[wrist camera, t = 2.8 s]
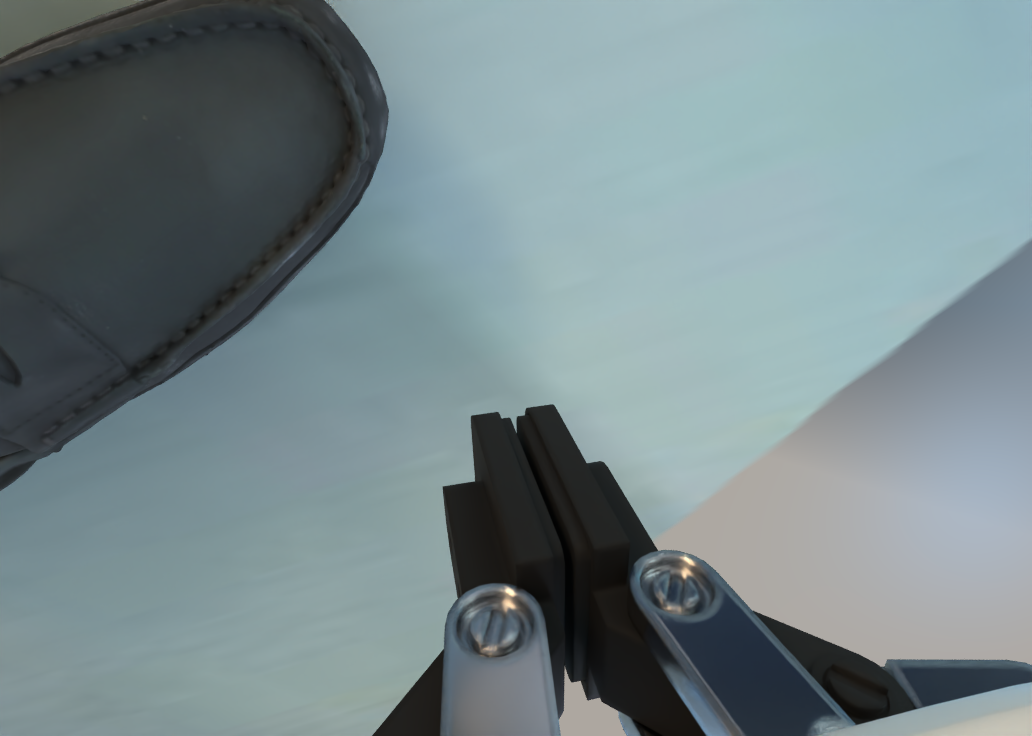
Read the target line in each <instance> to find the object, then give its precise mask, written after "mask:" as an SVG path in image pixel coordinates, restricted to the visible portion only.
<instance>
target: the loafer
mask: <svg viewBox="0 0 1032 736" xmlns="http://www.w3.org/2000/svg"><path fill="white" fill-rule="evenodd" d="M388 112H389V109H388V106H387V102H386V96H385V93H384V90H383V87H382V85H381V82H380V79H379V76H378V74H377V71H376V69H375V67H374V66H373V64H372V62H371V60H370V58H369V57H368V55H367V53H366V52H365V50H364V49H363V47H362V46H361V44H360V43H359V42H358V40H357V39H356V38H355V36H354V35H353V34H352V32H351V31H350V30H349V28H348V27H347V26H346V24H345V23H344V22H343V21H342V20H341V18H340V17H339V16H338V15H337V14H336V12H335V11H334V10H333V9H332V7H331V6H330V5H328V4H327V3H326V2H325V1H324V0H144V1H141V2H139V3H136V4H133V5H130V6H127V7H124V8H121V9H117V10H115V11H112V12H109V13H106V14H102V15H99V16H97V17H94V18H92V19H89V20H86V21H84V22H81V23H79V24H76V25H74V26H71V27H68V28H66V29H63V30H60V31H58V32H55V33H52V34H50V35H48V36H45V37H43V38H41V39H39V40H37V41H35V42H32V43H28V44H26V45H24V46H23V47H21V48H19V49H17V50H16V51H14V52H12V53H10V54H8V55H6V56H4V57H2V58H1V59H0V491H1V490H2V489H4V488H5V487H7V486H8V485H10V484H11V483H13V482H14V481H15V480H16V479H18V478H19V477H20V476H21V475H23V474H24V473H25V472H26V471H27V470H28V469H29V468H30V467H31V466H32V465H33V464H34V463H35V461H36V460H38V459H41V458H44V457H46V456H48V455H50V454H51V453H53V452H59V451H60V450H61V449H62V447H63V445H65V444H66V443H68V442H69V441H71V440H72V439H74V438H75V437H77V436H78V435H80V434H81V433H83V432H84V431H86V430H88V429H89V428H91V427H92V426H93V425H95V424H96V423H97V422H99V421H100V420H101V419H103V418H104V417H106V416H108V415H109V414H111V413H112V412H114V411H115V410H117V409H118V408H120V407H121V406H122V405H124V404H125V403H126V402H128V401H129V400H132V399H134V398H136V397H138V396H140V395H141V394H143V393H145V392H147V391H149V390H151V389H153V388H154V387H156V386H158V385H160V384H162V383H164V382H165V381H167V380H169V379H170V378H172V377H174V376H175V375H177V374H178V373H180V372H181V371H183V370H184V369H186V368H187V367H189V366H190V365H192V364H193V363H194V362H196V361H197V360H199V359H200V358H202V357H203V356H205V355H208V354H209V352H211V351H212V350H214V349H215V348H216V347H218V346H219V345H221V344H223V343H224V342H225V341H227V340H228V339H229V338H231V337H232V336H233V335H235V334H236V333H237V332H238V331H240V330H241V329H242V328H243V327H245V326H246V325H247V324H248V323H249V322H251V321H252V320H253V319H254V318H255V317H256V316H257V315H258V314H259V313H260V312H261V311H262V310H263V309H264V308H265V307H266V306H267V305H268V304H269V303H270V302H271V301H272V300H273V299H274V298H275V297H276V296H277V295H278V294H279V293H280V292H281V291H282V290H283V289H284V288H285V287H286V286H287V285H288V284H289V283H290V282H291V281H292V280H293V279H294V278H295V276H296V275H297V274H298V273H299V272H300V271H301V270H302V269H303V268H304V267H305V266H306V265H307V264H308V263H309V262H310V261H311V260H312V258H313V257H314V256H315V255H316V254H317V253H318V252H319V251H320V250H321V249H322V248H323V247H324V246H325V245H326V243H327V242H328V241H329V240H330V239H331V238H332V236H333V235H334V234H335V233H336V232H337V231H338V230H339V228H340V227H341V226H342V224H343V223H344V222H345V221H346V219H347V218H348V217H349V215H350V214H351V212H352V211H353V210H354V208H355V207H356V206H357V205H358V204H359V202H360V200H361V198H362V196H363V194H364V192H365V190H366V189H367V187H368V186H369V184H370V182H371V179H372V177H373V174H374V171H375V170H376V167H377V164H378V161H379V159H380V157H381V155H382V152H383V148H384V143H385V137H386V130H387V125H388Z"/></svg>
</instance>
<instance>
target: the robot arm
mask: <svg viewBox="0 0 1032 736" xmlns="http://www.w3.org/2000/svg"><path fill="white" fill-rule="evenodd" d="M471 429H472V443H473V456H474V470H475V482H469V483H462V484H456V485H450V486H444V487H443V496H444V506H445V515H446V524H447V532H448V539H449V547H450V553H451V560H452V566H453V572H454V578H455V584H456V590H457V596H458V599H457V600H456V601H455V603H454V604H453V606H452V607H451V609H450V611H449V612H448V615H447V620H446V624H445V637H444V649H443V651H442V652H441V653H440V654H439V655H438V657H437V658H436V659H435V660H434V661H433V663H432V664H431V665H430V666H429V668H428V669H427V670H426V671H425V672H424V674H423V675H422V676H421V677H420V678H419V680H418V681H417V682H416V683H415V685H414V686H413V687H412V688H411V689H410V691H409V692H408V693H407V694H406V695H405V697H404V698H403V699H402V700H401V702H400V703H399V704H398V705H397V706H396V708H395V709H394V710H393V711H392V712H391V714H390V715H389V716H388V717H387V718H386V720H385V721H384V722H383V723H382V725H381V726H380V727H379V728H378V729H377V731H376V732H375V733H374V734H373V735H372V736H561V735H560V727H559V718H560V717H561V715H562V713H563V711H564V667H565V668H566V670H567V674H568V676H569V679H570V681H571V682H577V681H581V683H582V686H583V689H584V692H585V695H586V698H587V700H591V699H595V698H601V701H602V702H603V703H605V704H607V705H609V706H610V707H612V708H614V709H616V710H618V712H619V719H620V722H621V724H622V727H623V730H624V731H625V733H626V735H627V736H1032V665H1030V664H1027V663H1023V662H1017V661H1010V660H887V662H886V664H885V667H880V666H879V665H877V664H876V663H874V662H872V661H870V660H869V659H867V658H865V657H863V656H861V655H859V654H856V653H854V652H851V651H849V650H847V649H844V648H842V647H840V646H837V645H835V644H832V643H830V642H827V641H825V640H823V639H820V638H818V637H815V636H813V635H811V634H808V633H806V632H803V631H801V630H798V629H796V628H793V627H791V626H789V625H786V624H784V623H781V622H779V621H777V620H774V619H772V618H769V617H767V616H764V615H762V614H760V613H757V612H755V611H752V610H751V609H750V608H749V607H748V606H747V604H746V603H745V602H744V601H743V600H742V599H741V598H740V597H739V596H738V595H737V594H736V593H735V591H734V590H733V589H732V588H731V587H730V586H729V585H728V584H727V583H726V581H725V580H724V579H723V578H722V577H721V576H720V575H719V574H718V573H717V572H716V570H714V569H713V568H712V567H711V566H709V565H708V564H707V563H706V562H705V561H703V560H701V559H699V558H697V557H695V556H694V555H691V554H688V553H684V552H681V551H674V550H673V551H672V550H661V551H658V550H657V548H656V547H655V545H654V543H653V542H652V540H651V538H650V537H649V535H648V533H647V532H646V530H645V528H644V527H643V525H642V523H641V522H640V520H639V518H638V517H637V515H636V513H635V512H634V510H633V508H632V507H631V505H630V503H629V502H628V500H627V498H626V497H625V495H624V493H623V492H622V490H621V488H620V487H619V485H618V483H617V482H616V480H615V479H614V477H613V475H612V474H611V472H610V470H609V469H608V467H607V466H606V464H605V463H604V462H601V461H599V462H593V463H586V461H585V460H584V458H583V456H582V454H581V452H580V450H579V449H578V447H577V445H576V443H575V441H574V440H573V438H572V436H571V434H570V432H569V431H568V429H567V427H566V425H565V423H564V422H563V420H562V418H561V416H560V414H559V413H558V411H557V409H556V407H555V406H554V405H544V406H537V407H530V408H526V411H525V415H524V416H518V417H517V433H516V431H515V428H514V426H513V424H512V421H511V419H510V418H503V419H501V416H500V414H499V412H494V413H487V414H480V415H473V416H471Z"/></svg>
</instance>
